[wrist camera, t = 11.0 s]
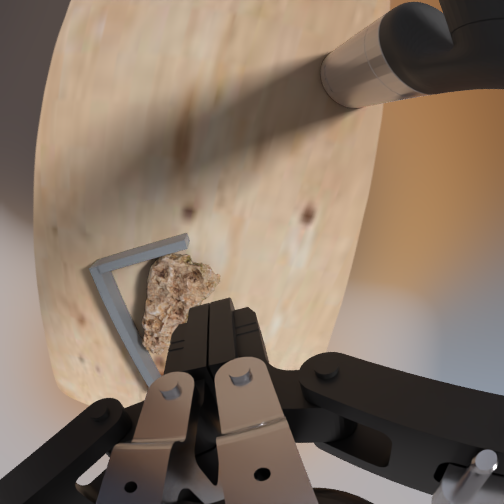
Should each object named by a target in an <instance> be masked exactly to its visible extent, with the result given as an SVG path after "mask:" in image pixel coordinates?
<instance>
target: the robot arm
mask: <svg viewBox="0 0 504 504" xmlns="http://www.w3.org/2000/svg"><path fill="white" fill-rule="evenodd" d="M439 2H440V5H441V8H442V10H443V13H444V14H443V13H442V12H441V11H439V10H438V9H436V8H434V7H432V6H430V5H428V4H424V3H421V2H408V3H404V4H401V5H399V6H397V7H395V8H394V9H392V10H391V11H389V12H388V13H386V14H385V15H383V16H382V17H380V18H379V19H377V20H376V21H374V22H373V23H372V24H370V25H369V26H367V27H366V28H364V29H363V30H361V31H360V32H359V33H357V34H356V35H354V36H353V37H351V38H350V39H349V40H347V41H346V42H345V43H343V44H342V45H340V46H339V47H338V48H336V49H335V50H334V51H332V52H331V53H330V54H329V55H328V56H327V57H326V58H325V59H324V61H323V63H322V66H321V73H320V75H321V81H322V84H323V87H324V89H325V90H326V92H327V93H328V95H329V96H330V97H331V98H332V99H333V100H335V101H336V102H337V103H339V104H341V105H343V106H345V107H349V108H362V107H366V106H371V105H377V104H381V103H386V102H391V101H397V100H403V99H408V98H414V97H419V96H425V95H432V94H440V93H446V92H454V91H463V90H473V89H504V0H439ZM168 351H169V352H168V355H167V360H166V365H165V370H164V375H163V376H161V377H159V378H158V379H156V380H155V381H154V382H153V383H152V384H151V385H150V387H149V389H148V391H147V394H146V398H145V400H144V401H142V402H140V403H137V404H134V405H132V406H129V407H127V408H124V407H123V406H122V404H121V403H120V402H119V401H118V400H116V399H114V398H104V399H101V400H98V401H96V402H94V403H93V404H91V405H90V406H89V407H88V408H86V409H85V410H84V411H83V412H82V413H80V414H79V415H78V416H77V417H76V418H75V419H73V420H72V421H71V422H70V423H68V424H67V425H66V426H65V427H64V428H63V429H61V430H60V431H59V432H58V433H56V434H55V435H54V436H53V437H52V438H50V439H49V440H48V441H47V442H46V443H44V444H43V445H42V446H41V447H40V448H39V449H37V450H36V451H35V452H34V453H32V454H31V455H30V456H29V457H27V458H26V459H25V460H24V461H23V462H21V463H20V464H19V465H18V466H16V467H15V468H14V469H13V470H12V471H10V472H9V473H8V474H7V475H5V476H4V477H3V478H2V479H1V480H0V504H373V503H371V502H369V501H367V500H365V499H363V498H361V497H359V496H356V495H353V494H350V493H347V492H344V491H339V490H335V489H327V488H312V486H311V483H310V480H309V478H308V475H307V472H306V470H305V467H304V465H303V462H302V460H301V457H300V454H299V452H298V449H297V446H296V444H295V443H312V442H314V444H315V445H316V446H317V447H318V448H320V449H321V450H323V451H325V452H328V453H330V454H332V455H334V456H336V457H338V458H340V459H342V460H344V461H347V462H349V463H351V464H353V465H355V466H358V467H360V468H362V469H364V470H367V471H369V472H371V473H374V474H376V475H379V476H381V477H384V478H386V479H389V480H391V481H394V482H397V483H399V484H402V485H405V486H408V487H410V488H413V489H416V490H419V491H422V492H425V493H428V494H431V495H433V497H432V504H504V396H503V395H498V394H493V393H488V392H483V391H479V390H474V389H469V388H465V387H461V386H457V385H452V384H449V383H444V382H440V381H437V380H432V379H429V378H425V377H421V376H417V375H414V374H410V373H406V372H403V371H399V370H396V369H392V368H389V367H385V366H382V365H378V364H375V363H372V362H368V361H365V360H362V359H358V358H355V357H352V356H349V355H345V354H342V353H337V352H326V353H321V354H318V355H315V356H313V357H311V358H310V359H308V360H307V361H306V362H304V363H303V365H302V366H301V368H300V370H281V369H277V368H275V367H273V366H271V365H270V364H269V361H268V357H267V352H266V348H265V344H264V341H263V338H262V334H261V331H260V327H259V324H258V320H257V317H256V313H255V312H254V311H252V310H251V309H250V308H249V307H246V308H242V309H238V310H235V309H234V306H233V303H232V300H231V298H226V299H222V300H218V301H215V302H211V303H207V304H203V305H199V306H195V307H191V308H189V313H188V320H187V323H182V324H179V325H178V326H177V328H176V329H175V330H174V331H173V333H172V335H171V340H170V345H169V350H168ZM105 453H106V454H107V455H108V456H109V457H110V459H109V462H108V465H107V468H106V469H105V470H104V471H103V472H102V473H101V474H100V475H99V476H98V477H96V478H95V479H94V480H93V481H92V482H91V483H90V484H88V485H85V486H82V485H79V484H77V483H76V481H77V479H78V478H79V477H80V476H81V475H82V474H83V473H84V472H85V471H87V470H88V469H89V468H90V467H91V466H92V465H93V464H94V463H96V462H97V461H98V460H99V459H100V458H101V457H102V456H103V455H104V454H105Z"/></svg>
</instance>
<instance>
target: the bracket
mask: <svg viewBox="0 0 504 504" xmlns="http://www.w3.org/2000/svg"><path fill="white" fill-rule="evenodd" d="M189 242H190V240H189V237H188V234H187V233H184V234H181V235H178V236H174V237H171V238H167V239H164V240H160V241H157V242H154V243H150V244H147V245H144V246H140V247H137V248H134V249H130V250H127V251H124V252H121V253H117V254H114V255H111V256H108V257H104V258H101V259H98V260H97V261H96V262H95V263H94V264H93V265H92V266H91V267H90V268H89V270H90V273H91V275H92V277H93V280H94V282H95V284H96V287H97V289H98V291H99V293H100V295H101V298H102V300H103V302H104V304H105V306H106V308H107V311H108V313H109V315H110V317H111V319H112V321H113V323H114V325H115V327H116V329H117V331H118V333H119V335H120V337H121V339H122V341H123V343H124V344H125V346H126V348H127V350H128V352H129V354H130V356H131V357H132V359H133V361H134V363H135V365H136V366H137V368H138V370H139V372H140V373H141V375H142V377H143V378H144V380H145V382H146V384H147V385H148V387H150V385H151V384H152V383H153V382H154V381H155V380H156V379H158V378H159V377H161V375H160V373H159V371H158V369H157V367H156V366H155V364H154V362H153V360H152V358H151V356H150V354H149V352H148V350H146V347H144V346H143V344H142V338H141V336H140V334H139V332H138V330H137V328H136V326H135V324H134V322H133V320H132V318H131V316H130V313H129V311H128V309H127V307H126V305H125V302H124V300H123V298H122V296H121V293H120V291H119V289H118V286H117V284H116V282H115V279H114V277H113V275H112V272H111V271H112V270H115V269H119V268H122V267H125V266H129V265H132V264H136V263H139V262H143V261H146V260H150V259H153V258H157V257H160V256H164V255H167V254H171V253H174V252H178V251H181V250H185V249H187V248H188V245H189Z"/></svg>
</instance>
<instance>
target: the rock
mask: <svg viewBox="0 0 504 504" xmlns="http://www.w3.org/2000/svg"><path fill="white" fill-rule="evenodd" d="M219 282H220V275H219V274H217V275H215V273H214V272H213V271H212V269H211V268H210V266H209V265H204V264H202V263H195V262H194V263H193V262H192V260H191V257H190V255H187V254H185V255H181V254H173V253H171V254H167V255H164V256H160V257H159V258H157V260H156V261H155V263H154V264H152V266H151V268H150V271H149V276H148V279H147V284H148V288H147V299H146V302H145V308H146V309H145V312H144V316H143V319H142V326H143V328H145V329H144V333H145V334H144V338H143V339H142V344H143V346H144V347H146V350H148V351H151V352H152V353H153V354H154V353H156V354H162V353H163V352H164V349H165V348H169V345H170V340H171V335H172V333H173V331H174V330H175V329H176V328H177V326H178V325H179V324H182V323H186V322H187V318H188V313H189V308H191V307H195V306H199V305H201V302H202V301H203V300H204V299H206V298H207V297H208V296H209V295H210V294H211V293H212V292H213V291H214V289H215V287H216V285H217V284H219Z"/></svg>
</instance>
